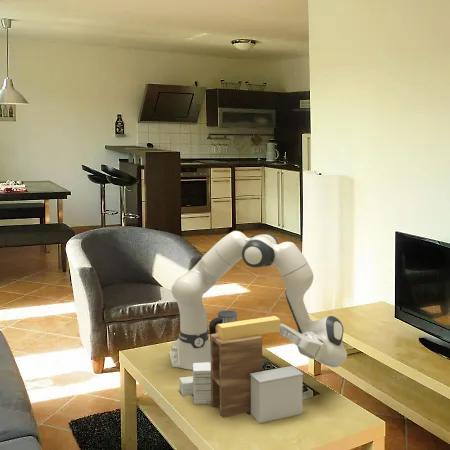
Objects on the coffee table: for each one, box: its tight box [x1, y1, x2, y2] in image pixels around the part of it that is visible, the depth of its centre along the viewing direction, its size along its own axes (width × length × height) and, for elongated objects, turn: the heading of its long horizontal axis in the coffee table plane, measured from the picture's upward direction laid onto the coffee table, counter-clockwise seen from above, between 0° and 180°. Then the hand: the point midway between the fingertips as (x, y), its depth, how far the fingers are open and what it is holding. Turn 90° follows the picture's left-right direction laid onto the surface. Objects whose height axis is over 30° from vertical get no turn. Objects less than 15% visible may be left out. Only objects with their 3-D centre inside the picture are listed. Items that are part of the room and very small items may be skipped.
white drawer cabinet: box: [192, 362, 211, 405], centre depth 212 cm, size 7×7×13 cm
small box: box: [179, 375, 194, 397], centre depth 219 cm, size 6×6×5 cm
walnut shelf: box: [209, 332, 263, 418], centre depth 205 cm, size 10×15×26 cm, turn 113°
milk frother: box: [208, 309, 238, 335], centre depth 260 cm, size 14×16×15 cm
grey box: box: [250, 365, 304, 424], centre depth 201 cm, size 7×16×14 cm, turn 113°
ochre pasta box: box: [217, 315, 281, 340], centre depth 204 cm, size 4×22×4 cm, turn 113°
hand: (280, 330), depth 209 cm, fingers open, 8 cm apart
